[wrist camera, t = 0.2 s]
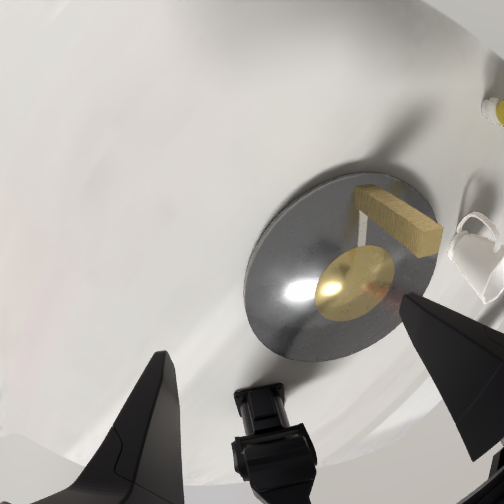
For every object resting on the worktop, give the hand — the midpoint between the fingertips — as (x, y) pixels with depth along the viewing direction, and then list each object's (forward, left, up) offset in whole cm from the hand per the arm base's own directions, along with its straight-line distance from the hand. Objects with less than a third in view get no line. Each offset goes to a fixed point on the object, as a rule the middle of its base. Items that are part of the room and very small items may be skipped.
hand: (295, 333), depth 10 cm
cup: (-8, -26, -15) cm, 31 cm away
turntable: (-10, -10, -15) cm, 21 cm away
